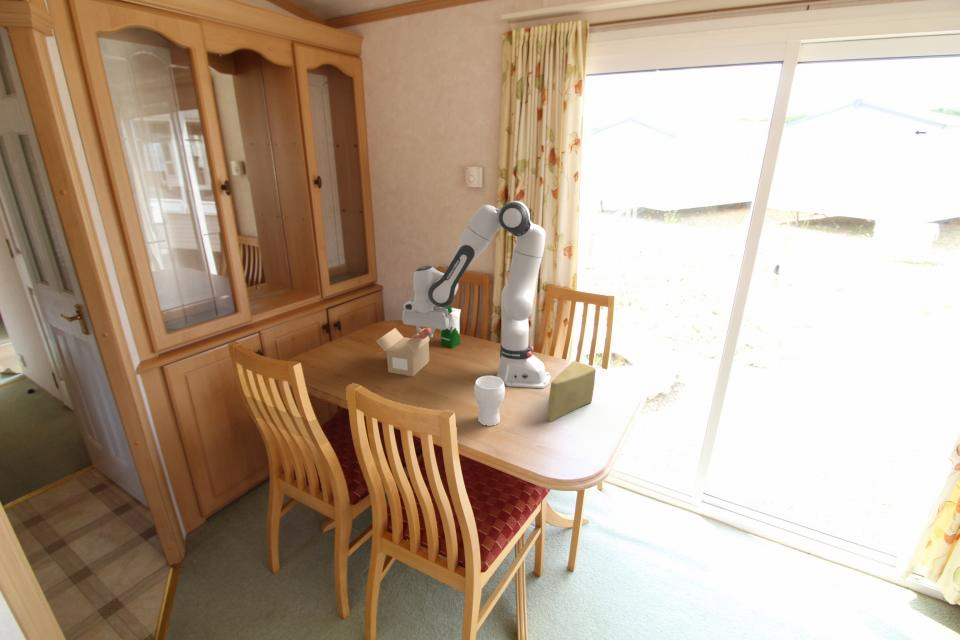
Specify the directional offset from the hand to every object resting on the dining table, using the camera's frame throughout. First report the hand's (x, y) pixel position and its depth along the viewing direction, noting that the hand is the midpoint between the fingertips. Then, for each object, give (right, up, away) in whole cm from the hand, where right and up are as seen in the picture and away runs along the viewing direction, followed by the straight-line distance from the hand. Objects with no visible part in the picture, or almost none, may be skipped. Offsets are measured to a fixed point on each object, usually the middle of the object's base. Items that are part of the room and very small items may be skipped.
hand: (426, 336), depth 184 cm
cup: (+26, -28, -31) cm, 50 cm away
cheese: (+55, -26, -24) cm, 65 cm away
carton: (-8, -14, +8) cm, 18 cm away
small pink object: (-4, -2, +2) cm, 5 cm away
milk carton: (+8, -5, +32) cm, 33 cm away
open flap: (-16, -1, +6) cm, 17 cm away
